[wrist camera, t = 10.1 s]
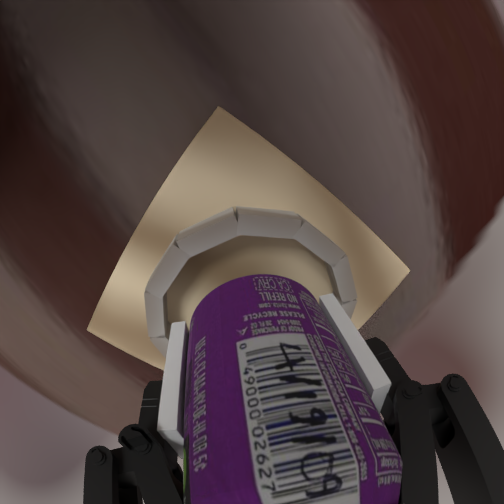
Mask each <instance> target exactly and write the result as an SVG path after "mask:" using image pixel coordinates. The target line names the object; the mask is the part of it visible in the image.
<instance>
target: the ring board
mask: <svg viewBox="0 0 504 504" xmlns="http://www.w3.org/2000/svg"><path fill="white" fill-rule="evenodd" d="M409 272H410V269H409V268H408V267H407V266H406V265H405V264H404V263H403V262H402V261H401V260H400V259H399V258H398V257H397V256H396V255H395V254H394V253H393V252H392V250H391V249H390V248H389V247H388V246H387V245H386V244H385V243H384V242H383V241H382V240H381V239H380V238H379V237H378V236H377V235H376V234H375V233H374V232H373V231H372V230H371V229H370V228H368V227H367V226H366V225H365V224H364V223H363V222H362V221H361V220H360V219H359V218H358V217H357V216H356V215H355V214H354V213H353V212H352V211H351V210H349V209H348V208H347V207H346V206H345V205H344V204H343V203H342V202H341V201H340V200H338V199H337V198H336V197H335V196H334V195H333V194H332V193H331V192H329V191H328V190H327V189H326V188H325V187H324V186H323V185H321V184H320V183H319V182H318V181H317V180H316V179H314V178H313V177H312V176H311V175H310V174H308V173H307V172H306V171H305V170H304V169H302V168H301V167H300V166H299V165H297V164H296V163H295V162H294V161H293V160H291V159H290V158H289V157H287V156H286V155H285V154H284V153H282V152H281V151H280V150H279V149H277V148H276V147H275V146H273V145H272V144H271V143H269V142H268V141H267V140H266V139H264V138H263V137H262V136H260V135H259V134H257V133H256V132H255V131H253V130H252V129H251V128H249V127H248V126H247V125H245V124H244V123H242V122H241V121H240V120H238V119H237V118H235V117H234V116H232V115H231V114H229V113H228V112H227V111H225V110H224V109H222V108H221V107H219V106H218V107H217V109H216V110H215V111H214V112H213V114H212V115H211V116H210V118H209V119H208V120H207V122H206V123H205V124H204V126H203V127H202V128H201V130H200V131H199V132H198V134H197V135H196V136H195V138H194V139H193V141H192V142H191V143H190V145H189V146H188V148H187V149H186V150H185V152H184V153H183V155H182V156H181V158H180V159H179V161H178V162H177V164H176V165H175V167H174V168H173V170H172V171H171V173H170V174H169V176H168V177H167V179H166V180H165V182H164V183H163V185H162V186H161V188H160V190H159V191H158V193H157V194H156V196H155V198H154V199H153V201H152V203H151V204H150V206H149V208H148V209H147V211H146V213H145V214H144V216H143V218H142V219H141V221H140V223H139V225H138V226H137V228H136V230H135V232H134V233H133V235H132V237H131V239H130V241H129V243H128V244H127V246H126V248H125V250H124V252H123V254H122V256H121V258H120V260H119V262H118V263H117V265H116V267H115V269H114V271H113V273H112V275H111V277H110V280H109V282H108V284H107V286H106V288H105V290H104V292H103V294H102V296H101V299H100V301H99V303H98V305H97V307H96V310H95V312H94V314H93V317H92V319H91V321H90V324H89V326H88V328H87V330H88V331H89V332H91V333H93V334H94V335H96V336H98V337H99V338H101V339H103V340H105V341H106V342H108V343H110V344H112V345H114V346H116V347H117V348H119V349H121V350H123V351H125V352H127V353H129V354H131V355H133V356H135V357H137V358H139V359H141V360H143V361H145V362H147V363H149V364H151V365H153V366H155V367H157V368H160V369H162V370H164V368H165V362H166V355H167V349H168V343H169V337H170V331H171V325H172V323H175V322H182V321H186V324H187V327H188V329H190V322H191V318H192V315H193V313H194V311H195V309H196V307H197V306H198V304H199V303H200V302H201V300H202V299H203V298H204V297H205V296H206V295H207V294H208V293H210V292H211V291H212V290H214V289H215V288H217V287H218V286H220V285H222V284H223V283H226V282H228V281H230V280H233V279H236V278H239V277H243V276H247V275H255V274H271V275H278V276H283V277H286V278H289V279H292V280H294V281H296V282H298V283H300V284H301V285H303V286H304V287H305V288H307V289H308V290H309V291H310V292H311V293H312V295H313V296H314V297H315V299H316V301H317V302H318V304H319V296H322V295H326V294H331V293H333V295H334V296H335V298H336V299H337V300H338V302H339V303H340V305H341V306H342V308H343V309H344V311H345V312H346V314H347V315H348V317H349V318H350V320H351V321H352V323H353V324H354V326H355V327H356V329H357V330H359V329H360V327H361V326H362V325H363V324H364V323H365V322H366V321H367V320H368V319H369V318H370V317H371V316H372V315H373V314H374V313H375V311H376V310H377V309H378V308H379V307H380V306H381V305H382V304H383V303H384V301H385V300H386V299H387V298H388V297H389V296H390V295H391V293H392V292H393V291H394V290H395V289H396V288H397V286H398V285H399V284H400V283H401V282H402V280H403V279H404V278H405V277H406V275H407V274H408V273H409Z"/></svg>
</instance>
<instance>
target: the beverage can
mask: <svg viewBox="0 0 504 504" xmlns="http://www.w3.org/2000/svg"><path fill="white" fill-rule="evenodd" d="M402 466H403V463H402V459H401V457H400V454H399V452H398V450H397V448H396V446H395V444H394V442H393V440H392V438H391V436H390V434H389V432H388V430H387V428H386V426H385V424H384V422H383V420H382V419H381V416H380V415H379V413H378V411H377V409H376V407H375V405H374V403H373V401H372V399H371V397H370V396H369V394H368V392H367V390H366V388H365V386H364V384H363V383H362V381H361V379H360V377H359V375H358V373H357V371H356V370H355V368H354V366H353V364H352V362H351V361H350V359H349V357H348V355H347V353H346V352H345V350H344V348H343V346H342V344H341V343H340V341H339V339H338V337H337V335H336V334H335V332H334V330H333V328H332V327H331V325H330V323H329V321H328V320H327V318H326V316H325V314H324V313H323V311H322V309H321V307H320V306H319V304H318V302H317V301H316V299H315V297H314V296H313V295H312V293H311V292H310V291H309V290H308V289H307V288H305V287H304V286H303V285H301V284H300V283H298V282H296V281H294V280H292V279H289V278H286V277H283V276H278V275H271V274H255V275H247V276H243V277H239V278H236V279H233V280H230V281H228V282H226V283H223V284H222V285H220V286H218V287H217V288H215V289H214V290H212V291H211V292H210V293H208V294H207V295H206V296H205V297H204V298H203V299H202V300H201V302H200V303H199V304H198V306H197V307H196V309H195V311H194V313H193V315H192V318H191V322H190V329H189V341H188V354H187V369H186V386H185V407H184V441H183V489H184V504H399V497H400V488H401V477H402ZM403 504H405V503H403Z"/></svg>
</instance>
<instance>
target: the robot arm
mask: <svg viewBox="0 0 504 504" xmlns="http://www.w3.org/2000/svg"><path fill="white" fill-rule="evenodd" d="M319 306H320V307H321V309H322V311H323V313H324V314H325V316H326V318H327V320H328V321H329V323H330V325H331V327H332V328H333V330H334V332H335V334H336V335H337V337H338V339H339V341H340V343H341V344H342V346H343V348H344V350H345V352H346V353H347V355H348V357H349V359H350V361H351V362H352V364H353V366H354V368H355V370H356V371H357V373H358V375H359V377H360V379H361V381H362V383H363V384H364V386H365V388H366V390H367V392H368V394H369V396H370V397H371V399H372V401H373V403H374V405H375V407H376V409H377V411H378V413H379V415H380V413H381V414H382V416H383V417H384V420H383V422H384V424H385V426H386V428H387V430H388V432H389V434H390V436H391V438H392V440H393V442H394V444H395V446H396V448H397V450H398V452H399V454H400V457H401V459H402V463H403V466H402V477H401V488H400V497H399V504H403V503H405V504H439V503H438V477H437V465H436V454H435V450H436V453H437V455H438V458H439V461H440V463H441V466H442V469H443V471H444V474H445V477H446V480H447V482H448V485H449V488H450V491H451V494H452V498H453V501H454V504H504V450H503V448H502V446H501V444H500V441H499V439H498V437H497V435H496V433H495V431H494V430H493V428H492V426H491V424H490V422H489V420H488V418H487V417H486V414H485V413H484V411H483V409H482V407H481V406H480V404H479V402H478V401H477V399H476V397H475V395H474V394H473V392H472V390H471V389H470V387H469V385H468V384H467V382H466V380H465V379H464V378H463V377H462V376H460V375H458V374H449V375H447V376H445V377H444V378H443V380H442V381H441V383H436V384H430V385H421V384H420V383H419V382H417V381H414V380H411V379H410V378H409V377H408V375H407V374H406V373H405V371H404V369H403V368H402V367H401V365H400V364H399V362H398V361H397V359H396V358H395V357H394V355H393V354H392V352H391V351H390V350H389V348H388V347H387V345H386V344H385V343H384V342H383V341H381V340H380V339H378V338H377V337H374V338H371V339H368V340H365V341H364V339H363V338H362V336H361V335H360V333H359V332H358V330H357V329H356V327H355V326H354V324H353V323H352V321H351V320H350V318H349V317H348V315H347V314H346V312H345V311H344V309H343V308H342V306H341V305H340V303H339V302H338V300H337V299H336V298H335V296H334V295H333V293H331V294H326V295H322V296H319ZM188 341H189V329H188V327H187V324H186V321H182V322H175V323H172V325H171V331H170V337H169V343H168V349H167V355H166V362H165V368H164V375H163V380H160V381H150V382H149V383H148V385H147V386H146V388H145V389H144V394H143V400H142V405H141V406H142V408H141V411H140V417H139V423H138V424H131V425H128V426H126V427H125V428H124V429H123V430H122V431H121V432H120V434H119V436H118V441H119V443H120V444H121V445H122V446H123V447H121V448H117V449H113V450H109V449H108V448H106V447H104V446H95V447H93V448H91V449H90V450H89V452H88V453H87V456H86V462H85V475H84V476H85V477H84V499H83V504H143V500H144V503H145V504H184V489H183V471H182V469H181V467H180V465H179V464H178V463H177V455H178V456H179V457H180V458H181V459H183V441H184V407H185V386H186V369H187V354H188ZM142 497H143V500H142Z"/></svg>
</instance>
